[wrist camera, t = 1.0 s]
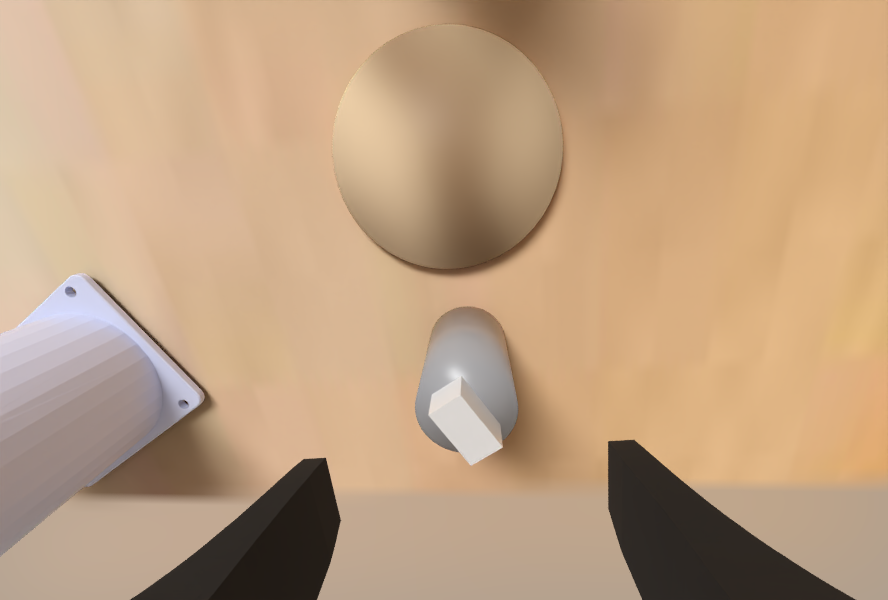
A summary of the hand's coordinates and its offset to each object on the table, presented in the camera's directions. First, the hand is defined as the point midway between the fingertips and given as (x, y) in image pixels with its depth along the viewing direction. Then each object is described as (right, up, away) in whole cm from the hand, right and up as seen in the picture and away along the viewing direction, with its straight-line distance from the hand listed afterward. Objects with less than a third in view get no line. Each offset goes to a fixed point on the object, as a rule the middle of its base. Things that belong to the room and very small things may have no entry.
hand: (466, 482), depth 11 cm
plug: (0, +3, +9) cm, 9 cm away
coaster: (-1, +10, +6) cm, 12 cm away
